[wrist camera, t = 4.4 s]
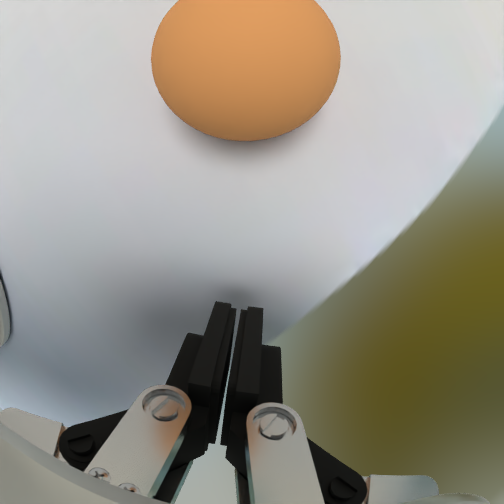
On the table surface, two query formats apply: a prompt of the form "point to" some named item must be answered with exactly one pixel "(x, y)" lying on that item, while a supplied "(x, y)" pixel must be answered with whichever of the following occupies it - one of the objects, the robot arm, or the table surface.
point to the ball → (245, 65)
